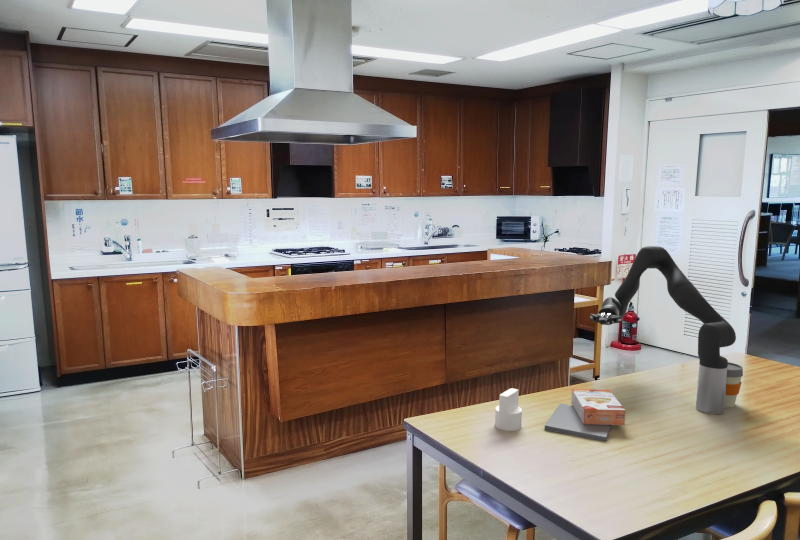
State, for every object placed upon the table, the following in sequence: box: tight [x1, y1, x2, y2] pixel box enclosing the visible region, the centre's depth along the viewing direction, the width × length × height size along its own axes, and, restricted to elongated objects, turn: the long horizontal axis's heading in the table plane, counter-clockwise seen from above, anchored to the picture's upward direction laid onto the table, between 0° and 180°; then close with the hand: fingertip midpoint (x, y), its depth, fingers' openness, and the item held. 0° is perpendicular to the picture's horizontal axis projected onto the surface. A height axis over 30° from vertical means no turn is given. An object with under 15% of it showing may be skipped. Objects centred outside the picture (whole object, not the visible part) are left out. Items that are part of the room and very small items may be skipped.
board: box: [544, 402, 613, 442], centre depth 206 cm, size 20×24×2 cm
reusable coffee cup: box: [724, 361, 744, 408], centre depth 226 cm, size 13×13×15 cm
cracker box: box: [570, 388, 626, 426], centre depth 211 cm, size 14×6×21 cm
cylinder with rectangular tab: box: [494, 387, 523, 432], centre depth 203 cm, size 9×9×12 cm
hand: (602, 322), depth 235 cm, fingers closed
